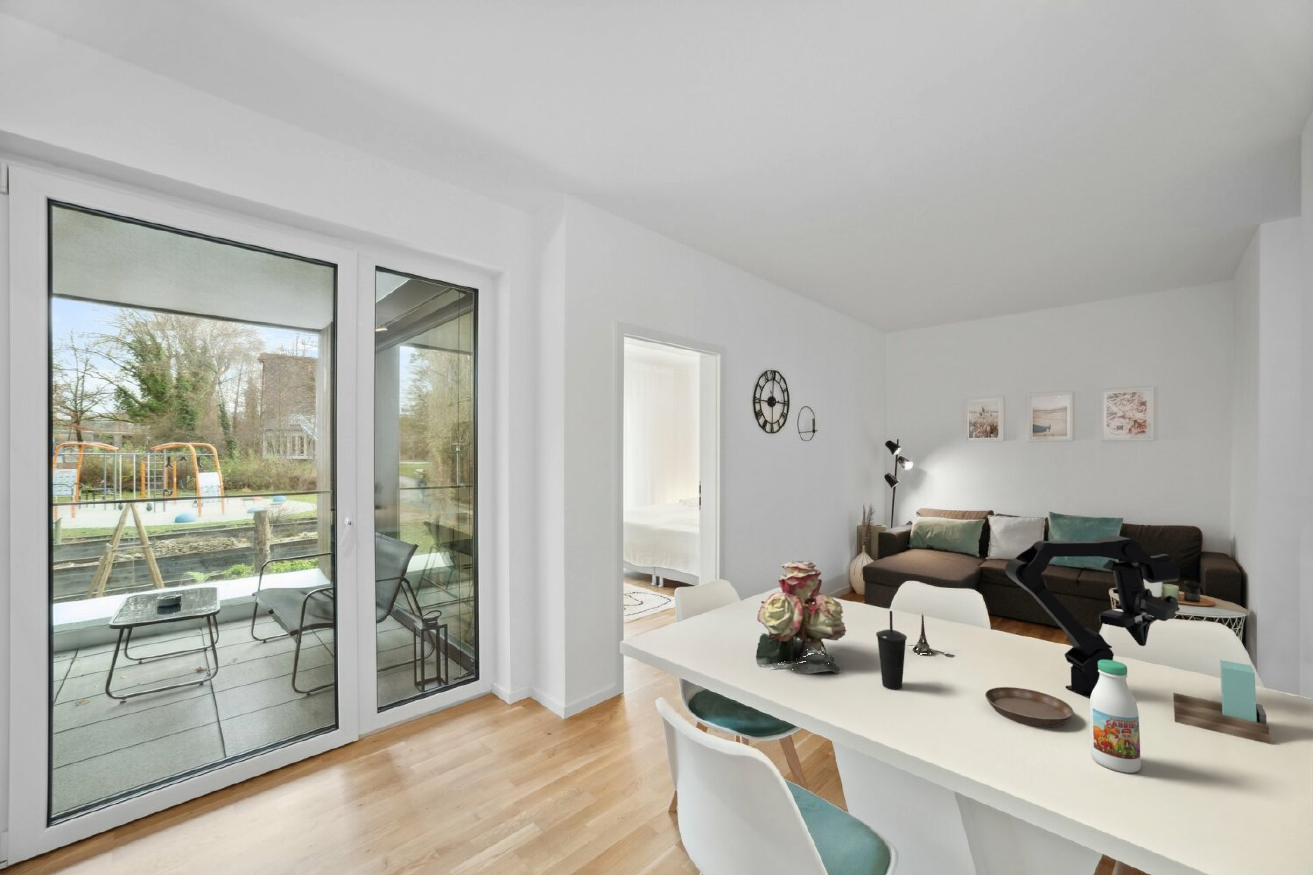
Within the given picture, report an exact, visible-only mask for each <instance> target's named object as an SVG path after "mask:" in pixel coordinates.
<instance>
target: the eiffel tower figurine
mask: <svg viewBox="0 0 1313 875" xmlns="http://www.w3.org/2000/svg"><path fill="white" fill-rule="evenodd" d="M923 613H924V612H923V611H922V614H921V616H920V617H921V626H920V628H921V629H920V635H919V638H918V641H917V644H915V645H914V644H911V645H910V644H909V645H908V646H915V647H914V648H913V649H911V651H912V652H913V653H914V654H915V653H917V655H920V653H927V654H922V655H920V656H923V657H936V655H935V654H934V653H941V654H942V653H945V652H943V651H940V650H937V649H933V648H931V647H930V644H929V643H928V640H927V636H926V630H925V621H924V617H925V616H924V614H923ZM917 648H918V650H916V649H917ZM930 653H931V654H930ZM946 653H947V652H946ZM917 655H916V656H917ZM944 656H945V657H946V658H951V659H952V658H954V657H956V655H954V654H951V653H947V654H945V655H944Z"/></svg>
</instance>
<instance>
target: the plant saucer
mask: <svg viewBox="0 0 1313 875" xmlns="http://www.w3.org/2000/svg"><path fill="white" fill-rule="evenodd" d="M984 695H985V698H986V701H987V702H988V703H989V706H991V707H992V708H993V709H994V710H995V711H996V712H997V713H998V714H999V715H1001V716H1003V717H1005V718H1007V719H1009V720H1012V721H1014V722H1016V723H1021V724H1023V725H1024V724H1025V725H1027V726H1028V725H1029V726H1035V727H1042V728H1043V727H1046V728H1050V727H1052V728H1053V727H1058V726H1060V725H1063V724H1065V723H1066V722H1068V720H1069V719H1071V717H1072V716H1073V714H1074V709H1073V708H1072V706H1071V705H1070V704H1069V703H1067V702H1065V701H1064V700H1063V699H1060V698H1058V697H1055V696H1053V695H1051V694H1047V693H1044V692H1041V691H1037V690H1033V689H1029V688H1028V689H1027V688H1021V687H1011V686H1005V687H1004V686H1003V687H1000V686H999V687H993V688H990V689H988V690H986V691H985V694H984Z"/></svg>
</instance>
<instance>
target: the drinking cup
mask: <svg viewBox="0 0 1313 875" xmlns="http://www.w3.org/2000/svg"><path fill="white" fill-rule="evenodd" d="M893 627H894V626H893V611H892V610H889V629H883V630H882V629H881V630H879V631H877V632H876V633H875V635H876V638H877V644H878V646H877V647H878V655H879V665H880V673H881V674H880V675H881V682H882V684H881V685H882V686H883V687H884V688H886V689H889V690H894V691H895V690H901V689H902V688H903V678H904V665H905V654H906V652H905V651H906V643H907V642H906V641H907V639H908V636H907V635H906V634H904V633H902V632H900V631H899V630H895V629H893Z"/></svg>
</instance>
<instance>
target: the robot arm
mask: <svg viewBox="0 0 1313 875" xmlns="http://www.w3.org/2000/svg"><path fill="white" fill-rule="evenodd" d="M1054 557H1055V558H1057V557H1058V558H1059V557H1060V558H1062V557H1063V558H1064V557H1067V558H1069V557H1072V558H1075V557H1102V558H1109V559H1108V560H1107V562H1106V563H1105V564H1104V565H1102V568H1103V569H1105V570H1108V571H1111V572H1113V576H1114V582H1115V587H1116V588H1113V589H1112V592H1113V594H1117V596H1118V597H1117V598H1118V601H1119V603H1117V604H1115V607H1116V609H1117V610H1116V609H1109V610H1105V611H1102V612H1100V614H1098V619H1099V622H1100V624H1102V625H1103V624H1104V625H1109V626H1113V627H1117V628H1122V629H1123V628H1124V629H1125V630H1126V631H1127V632H1128V633H1129V634H1130V636H1131V637H1132V639H1134V641H1135V642H1136V643H1137V644H1138V646H1140V647H1145V646H1146V645H1147V641H1148V640H1147V639H1148V636H1149V631H1150V628H1151V625H1152V624H1154V622H1156V621H1158V620H1159V621H1160V622H1166V621H1168V620H1170V619H1174V618H1175V616H1176V612H1178V611H1180V607H1179V603H1178V600H1177V597H1175V596H1173V595H1171V594H1170V595H1166V596H1164V597H1163V598H1162V597H1160V596H1159V597H1157V596H1154V595H1153V592H1152V590H1151V589H1150V588H1146V586H1145V582H1144V581H1146V582H1148V583H1149V584H1156V583H1166V582H1177V581H1178V580H1180V579H1181V570H1180V568H1179V566H1177V564H1176V562H1174V560H1172V557H1171V555H1170V554H1166V553H1161V554H1157V555H1149V554H1148V553H1147V552H1145V550H1143V549H1142V546H1141V544H1140V543H1139V542H1138V541H1137V540H1136V539H1133V538H1128V537H1124V536H1118V535H1112V536H1105V537H1100V538H1097V539H1095V540H1094V539H1093V540H1056V541H1055V540H1053V541H1049V540H1046V541H1045V540H1038V541H1035V542H1034V543H1033V544H1032V545H1031V546H1030V547H1028V548H1027V549H1026V550H1023V551H1022V552H1020V553H1019V554H1018V555H1017V556H1016V557H1015V558H1013V559H1011V560H1008V561H1007V563H1006V565H1005V570H1004V572H1005V575H1007V577H1008V578H1010V579H1011V580H1012V581H1013V582H1015V583H1016V584H1017V585H1018V586H1019V587H1021V589H1024V590H1025V591H1026V592H1028V593H1029V594H1030V595H1031V596H1032V597H1033V598H1034V599H1035V600H1036V601H1037V602H1038V604H1039V605H1040V606H1041V607H1042V608H1043V609H1044V611H1046V613H1047V614H1048V615H1049V616H1050V617H1051V618H1052V619H1053V621H1055V623H1056V624H1058V627H1060V629H1062V630H1063V632H1064V633H1065V634H1066V635H1067V638H1068V641H1069V643H1070V644H1071V646H1072V647H1071V648H1070V649H1069V650H1068V651H1066V652H1065V653H1064V657H1065V659H1066V662H1067V663H1069V664H1071V666H1070V685H1065V688H1066V689H1067V690H1070V691H1072V692H1074V693H1076V694H1078V695H1081V696H1083V697H1086V698H1089V699H1090V697H1091V694H1092V691H1093V689H1094V688H1095V686H1096V684H1097V682H1098V680H1099V676H1100V673H1099V672H1098V670H1099V669H1098V661H1099V660H1112V661H1114V657H1115V655H1114V652H1113V650H1112V648H1113V646H1112V645H1110V644H1109V643H1108V642H1107V641H1106V640H1105V639H1104V637H1103V636H1102V635H1101V634H1100V633H1098V632H1096V631H1094V630H1092V629H1090V628H1088V627H1085V628H1084V626H1082V624H1081V623H1080V622H1079V621H1078V620H1077V619H1076V618H1075V616H1074V615H1073V614H1072V613H1071V612H1070V611H1069V610H1068V609H1067V608H1066V607H1065V605H1064V604H1063V603H1062V602H1061V600H1060V599H1058V598H1057V596H1055V594H1054V593H1053V592H1052V591H1051V590H1050V589H1049V587H1048V585H1047V582H1046V580H1045V577H1044V576H1043V575H1042V574H1043V573H1044V572H1045V571H1046V569H1047V568H1048V565H1049V564H1050V562H1051V560H1052V559H1053V558H1054ZM1116 560H1120V561H1116ZM1131 562H1133V563H1131ZM1119 610H1121V611H1119Z"/></svg>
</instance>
